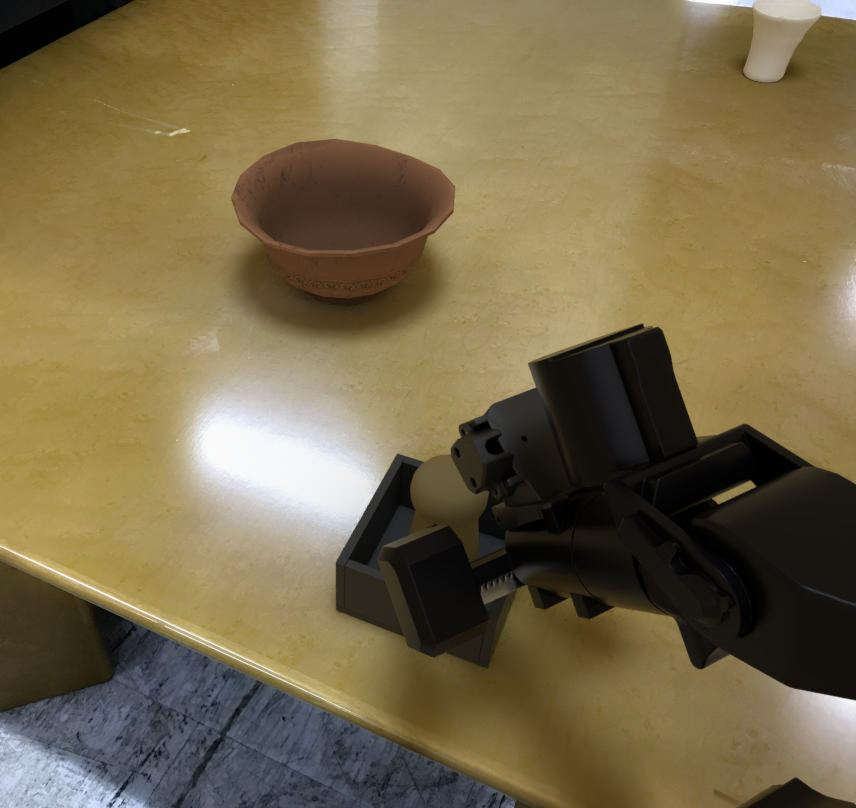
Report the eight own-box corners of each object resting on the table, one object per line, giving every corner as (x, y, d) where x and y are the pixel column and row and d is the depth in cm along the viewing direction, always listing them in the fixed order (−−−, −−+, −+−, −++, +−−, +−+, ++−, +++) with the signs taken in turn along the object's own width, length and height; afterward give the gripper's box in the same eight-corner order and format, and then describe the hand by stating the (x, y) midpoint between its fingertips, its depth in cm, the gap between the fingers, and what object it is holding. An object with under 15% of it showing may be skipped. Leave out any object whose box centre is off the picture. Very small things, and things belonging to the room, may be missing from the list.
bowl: (385, 208, 106) (388, 120, 98) (489, 308, 91) (502, 213, 84) (209, 256, 99) (199, 165, 92) (291, 372, 84) (286, 275, 77)
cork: (480, 613, 64) (499, 512, 56) (395, 605, 64) (402, 504, 57) (480, 546, 68) (497, 444, 61) (400, 538, 69) (407, 437, 61)
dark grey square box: (532, 548, 69) (544, 499, 65) (487, 669, 61) (497, 622, 57) (394, 501, 72) (397, 452, 69) (335, 609, 65) (335, 562, 61)
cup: (725, 81, 130) (747, 10, 123) (740, 59, 135) (761, -11, 129) (790, 94, 126) (816, 21, 119) (803, 70, 132) (828, 0, 125)
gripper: (711, 337, 47) (548, 376, 62) (402, 456, 41) (304, 468, 56) (781, 538, 47) (602, 529, 62) (483, 686, 41) (364, 636, 56)
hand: (473, 536), depth 59 cm, fingers open, 9 cm apart
